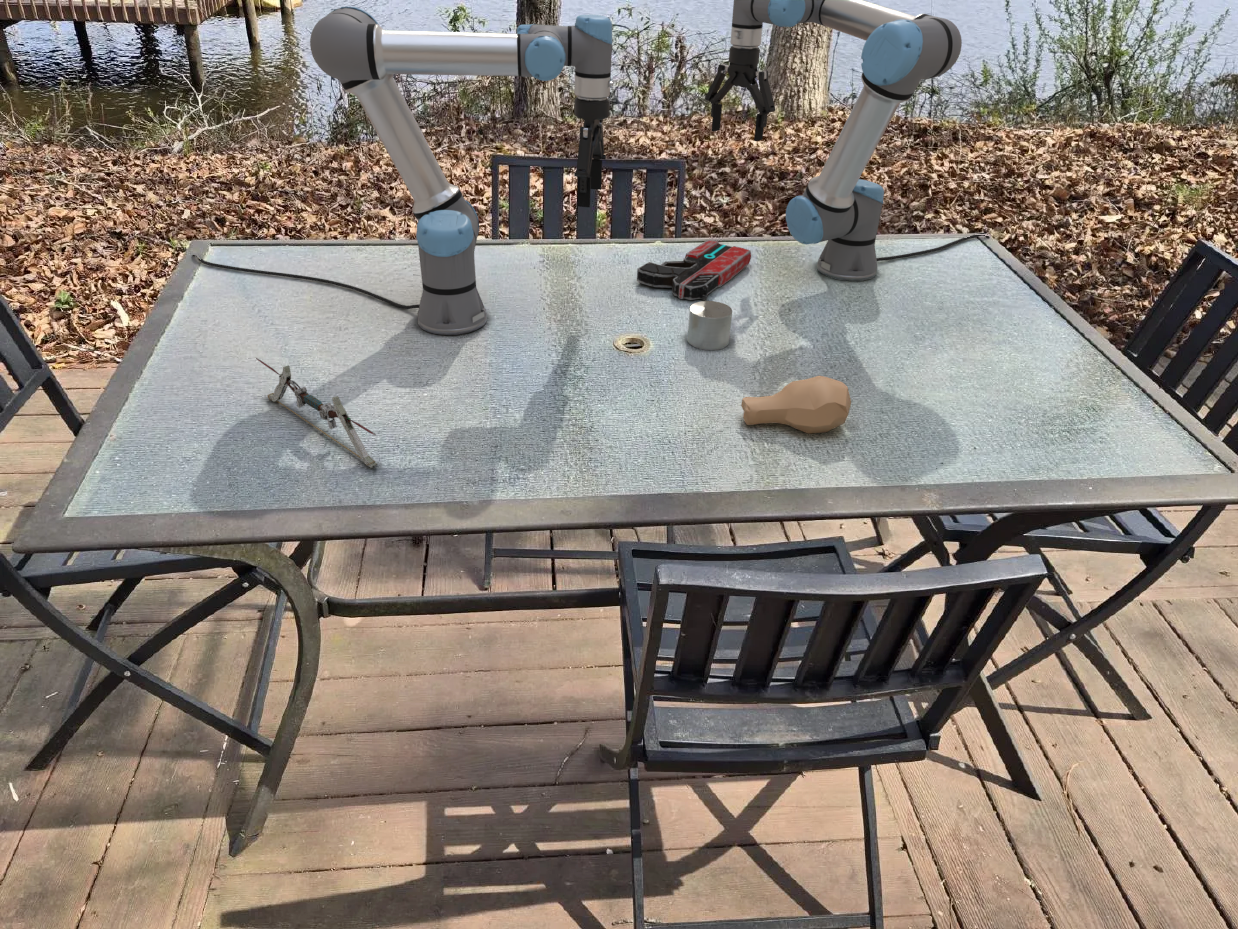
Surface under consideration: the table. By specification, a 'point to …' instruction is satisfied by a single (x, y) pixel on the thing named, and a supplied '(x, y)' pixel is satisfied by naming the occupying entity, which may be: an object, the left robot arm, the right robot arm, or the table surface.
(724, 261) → the gun
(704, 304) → the canister
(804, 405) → the squash
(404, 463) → the table surface
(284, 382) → the bow
